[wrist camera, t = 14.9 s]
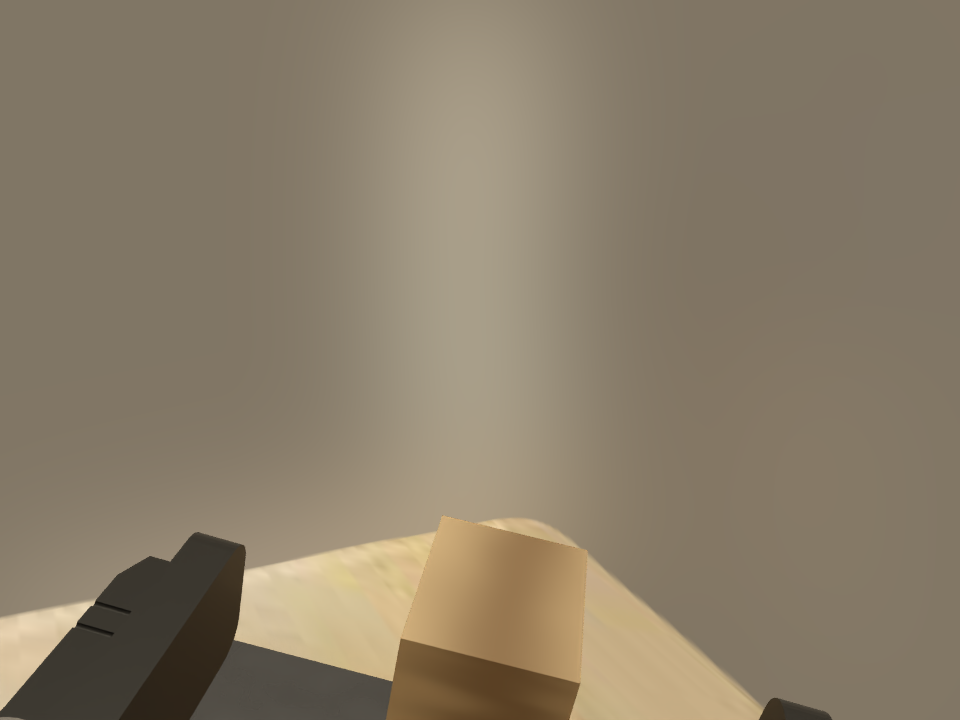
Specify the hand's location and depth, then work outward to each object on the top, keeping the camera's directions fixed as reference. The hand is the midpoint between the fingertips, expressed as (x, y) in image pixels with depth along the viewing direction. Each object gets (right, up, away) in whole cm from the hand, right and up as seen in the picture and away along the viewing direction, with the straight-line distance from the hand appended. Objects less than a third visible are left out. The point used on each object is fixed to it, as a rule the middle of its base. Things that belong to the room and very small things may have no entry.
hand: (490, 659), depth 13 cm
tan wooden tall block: (-2, -14, +18) cm, 23 cm away
